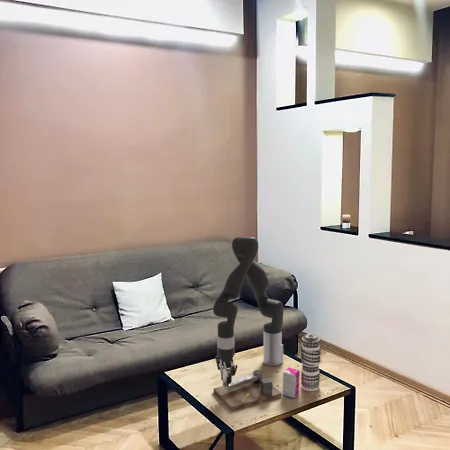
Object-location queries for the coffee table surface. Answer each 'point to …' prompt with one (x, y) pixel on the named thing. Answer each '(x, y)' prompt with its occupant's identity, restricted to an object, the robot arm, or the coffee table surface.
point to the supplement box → (291, 383)
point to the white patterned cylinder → (310, 362)
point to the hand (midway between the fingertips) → (226, 381)
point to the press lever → (242, 379)
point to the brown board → (248, 394)
